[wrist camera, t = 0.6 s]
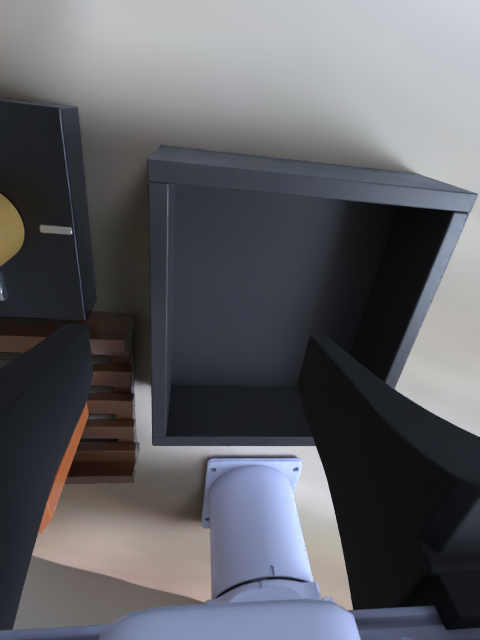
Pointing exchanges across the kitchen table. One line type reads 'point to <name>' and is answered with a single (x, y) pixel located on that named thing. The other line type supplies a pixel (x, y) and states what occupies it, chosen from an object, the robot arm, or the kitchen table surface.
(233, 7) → the kitchen table surface
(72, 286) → the black flat block
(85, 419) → the cup
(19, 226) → the knob
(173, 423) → the sink
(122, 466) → the rack
